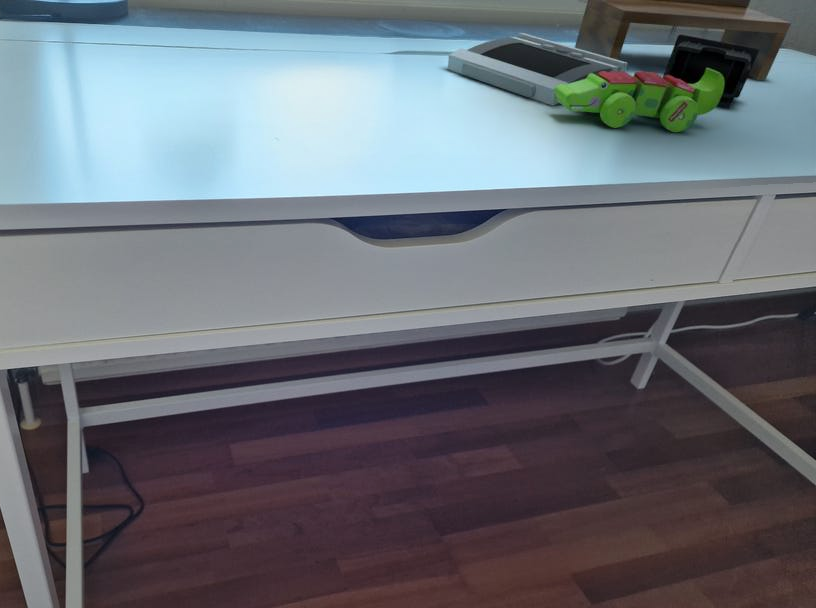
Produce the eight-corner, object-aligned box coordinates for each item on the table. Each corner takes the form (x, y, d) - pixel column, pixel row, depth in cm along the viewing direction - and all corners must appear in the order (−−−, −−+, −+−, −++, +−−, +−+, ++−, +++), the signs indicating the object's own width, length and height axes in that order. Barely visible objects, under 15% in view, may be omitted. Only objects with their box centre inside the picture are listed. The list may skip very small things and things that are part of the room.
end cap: (737, 98, 92) (761, 45, 88) (733, 110, 87) (758, 54, 83) (662, 82, 95) (681, 30, 91) (654, 93, 90) (674, 38, 86)
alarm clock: (628, 62, 88) (561, 65, 78) (614, 99, 91) (548, 106, 81) (522, 33, 98) (451, 32, 88) (513, 66, 100) (443, 69, 91)
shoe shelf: (765, 80, 101) (798, 7, 95) (605, 70, 98) (629, -6, 92) (721, 59, 111) (749, -8, 105) (573, 50, 107) (593, -21, 101)
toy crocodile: (560, 126, 75) (577, 69, 72) (541, 107, 80) (556, 53, 77) (722, 135, 78) (746, 81, 74) (693, 116, 83) (714, 64, 79)
